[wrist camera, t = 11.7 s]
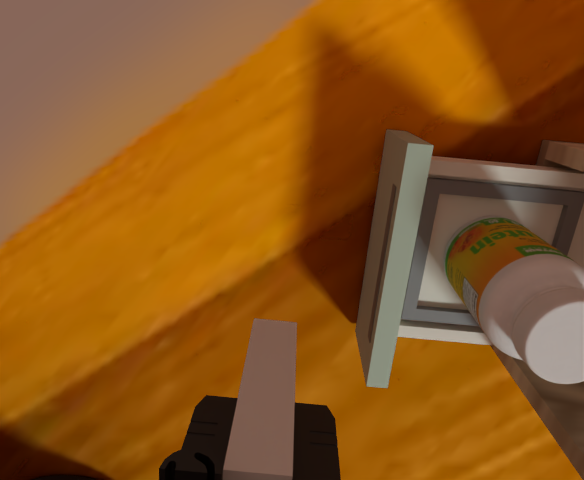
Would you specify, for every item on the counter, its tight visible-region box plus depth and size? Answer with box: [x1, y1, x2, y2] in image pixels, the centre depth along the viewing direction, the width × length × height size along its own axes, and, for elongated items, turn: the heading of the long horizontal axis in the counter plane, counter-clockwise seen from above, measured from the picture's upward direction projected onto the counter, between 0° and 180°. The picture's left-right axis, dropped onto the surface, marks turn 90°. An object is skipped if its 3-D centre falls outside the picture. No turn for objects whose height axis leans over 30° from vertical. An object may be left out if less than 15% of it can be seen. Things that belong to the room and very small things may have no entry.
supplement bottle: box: [444, 216, 584, 384], centre depth 23 cm, size 5×5×10 cm
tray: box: [355, 129, 584, 388], centre depth 26 cm, size 14×14×6 cm
